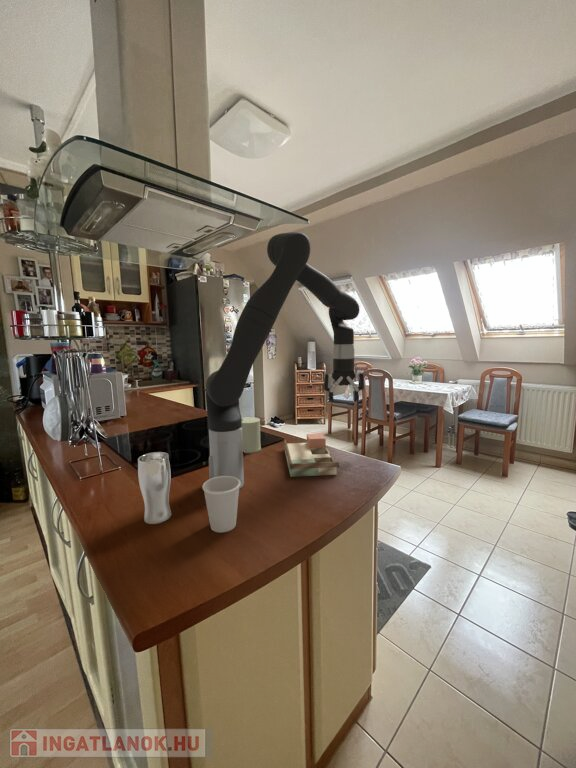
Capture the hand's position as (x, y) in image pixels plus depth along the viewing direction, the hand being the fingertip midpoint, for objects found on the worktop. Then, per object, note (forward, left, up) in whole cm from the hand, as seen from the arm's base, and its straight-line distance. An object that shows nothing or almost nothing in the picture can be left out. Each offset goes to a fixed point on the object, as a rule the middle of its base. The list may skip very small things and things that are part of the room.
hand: (343, 401), depth 115 cm
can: (-35, +7, -19) cm, 40 cm away
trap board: (-14, -8, -19) cm, 25 cm away
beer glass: (-55, -38, -19) cm, 70 cm away
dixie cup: (-39, -43, -19) cm, 61 cm away
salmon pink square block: (-10, +1, -16) cm, 19 cm away
